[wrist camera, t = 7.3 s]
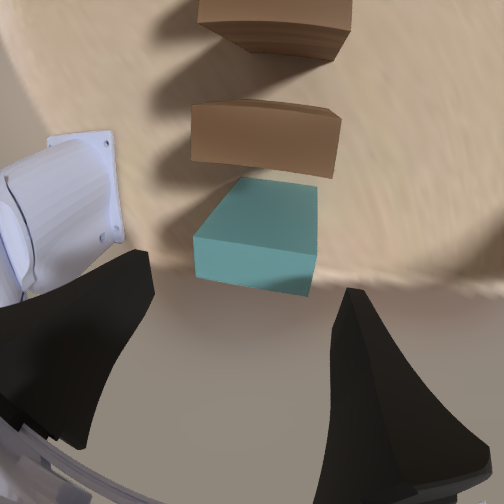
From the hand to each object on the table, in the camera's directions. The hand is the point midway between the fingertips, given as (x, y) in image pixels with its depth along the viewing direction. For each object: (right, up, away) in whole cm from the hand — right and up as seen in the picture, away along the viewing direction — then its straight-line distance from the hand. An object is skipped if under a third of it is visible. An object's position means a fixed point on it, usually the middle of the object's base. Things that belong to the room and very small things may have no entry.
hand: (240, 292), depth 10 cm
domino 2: (+2, +9, +5) cm, 11 cm away
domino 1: (+3, +13, +3) cm, 14 cm away
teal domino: (+2, +5, +8) cm, 10 cm away
